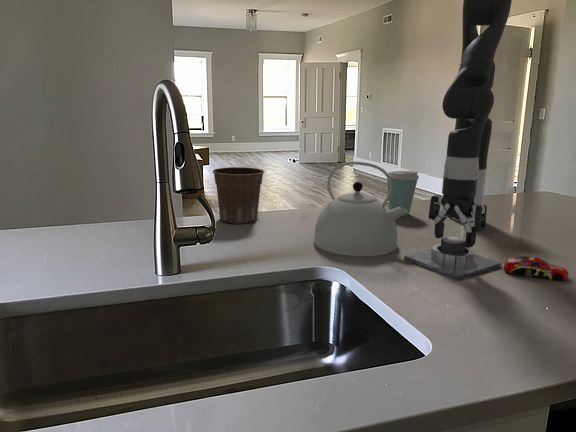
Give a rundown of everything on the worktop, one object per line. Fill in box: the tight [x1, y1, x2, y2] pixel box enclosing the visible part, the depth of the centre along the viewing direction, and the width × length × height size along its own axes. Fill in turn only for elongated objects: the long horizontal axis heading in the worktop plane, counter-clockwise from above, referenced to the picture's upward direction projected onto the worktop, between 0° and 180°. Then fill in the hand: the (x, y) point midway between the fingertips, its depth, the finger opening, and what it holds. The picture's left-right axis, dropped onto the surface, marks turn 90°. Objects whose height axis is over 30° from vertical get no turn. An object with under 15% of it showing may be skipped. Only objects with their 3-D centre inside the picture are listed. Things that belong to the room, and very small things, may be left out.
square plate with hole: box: [403, 243, 502, 281], centre depth 114 cm, size 16×16×4 cm
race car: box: [503, 255, 569, 282], centre depth 108 cm, size 13×5×4 cm, turn 67°
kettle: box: [313, 161, 408, 257], centre depth 127 cm, size 25×23×22 cm
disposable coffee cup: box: [386, 170, 420, 217], centre depth 161 cm, size 11×11×15 cm
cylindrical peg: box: [440, 236, 465, 254], centre depth 114 cm, size 6×6×5 cm
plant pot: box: [212, 166, 265, 225], centre depth 151 cm, size 16×16×16 cm
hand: (453, 242), depth 113 cm, fingers open, 8 cm apart
